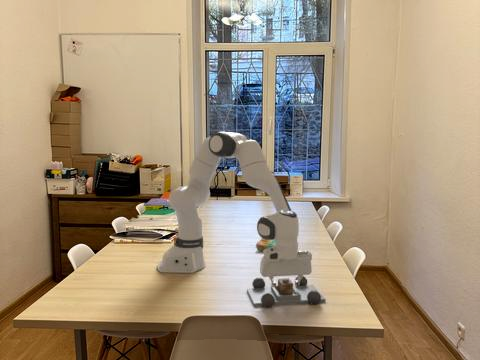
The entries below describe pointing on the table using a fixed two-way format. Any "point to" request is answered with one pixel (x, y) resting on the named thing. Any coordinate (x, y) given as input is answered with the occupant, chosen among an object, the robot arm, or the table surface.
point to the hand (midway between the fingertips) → (285, 285)
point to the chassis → (272, 296)
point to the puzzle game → (265, 244)
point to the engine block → (285, 286)
